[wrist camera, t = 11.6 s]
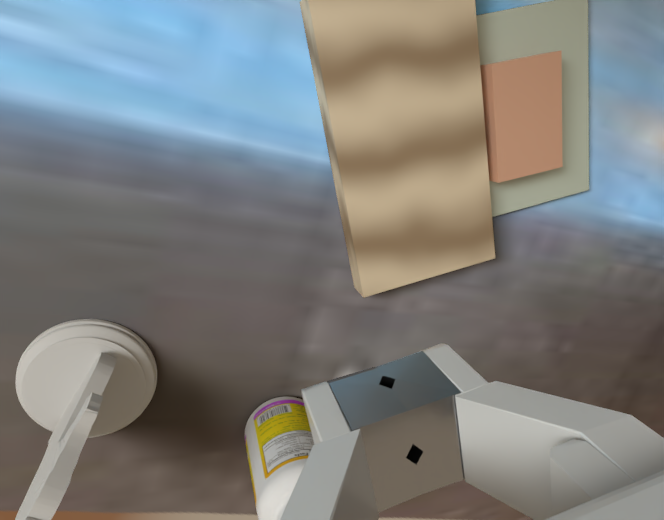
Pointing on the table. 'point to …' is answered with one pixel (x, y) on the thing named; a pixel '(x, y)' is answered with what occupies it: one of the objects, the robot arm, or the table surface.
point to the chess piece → (79, 397)
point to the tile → (523, 115)
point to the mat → (572, 40)
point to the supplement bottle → (277, 452)
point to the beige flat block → (403, 135)
